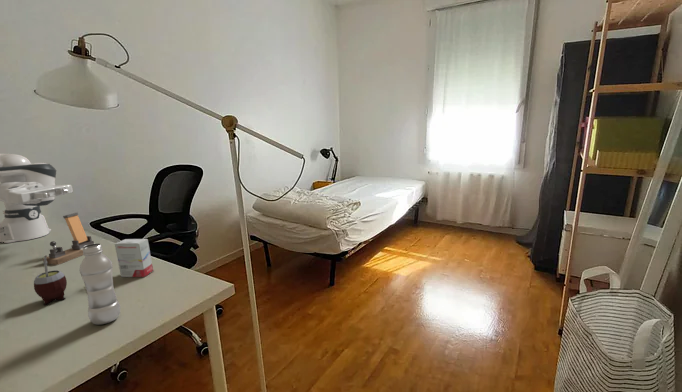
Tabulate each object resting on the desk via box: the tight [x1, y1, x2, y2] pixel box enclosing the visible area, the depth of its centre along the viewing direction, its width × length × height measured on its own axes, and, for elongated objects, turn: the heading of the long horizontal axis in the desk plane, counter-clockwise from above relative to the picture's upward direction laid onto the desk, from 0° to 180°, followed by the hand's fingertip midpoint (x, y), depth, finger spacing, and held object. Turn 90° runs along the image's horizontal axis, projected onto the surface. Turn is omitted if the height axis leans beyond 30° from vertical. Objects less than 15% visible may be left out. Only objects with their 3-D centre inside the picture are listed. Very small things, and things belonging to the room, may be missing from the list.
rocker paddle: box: [62, 211, 88, 243], centre depth 134 cm, size 2×4×12 cm, turn 167°
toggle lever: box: [49, 240, 57, 251], centre depth 125 cm, size 2×2×4 cm
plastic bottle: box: [79, 242, 121, 326], centre depth 82 cm, size 6×7×20 cm
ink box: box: [114, 238, 154, 278], centre depth 110 cm, size 9×5×12 cm, turn 84°
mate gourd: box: [33, 255, 68, 306], centre depth 94 cm, size 8×8×15 cm
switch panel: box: [42, 235, 95, 266], centre depth 130 cm, size 7×16×6 cm, turn 167°
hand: (57, 193), depth 132 cm, fingers open, 6 cm apart
